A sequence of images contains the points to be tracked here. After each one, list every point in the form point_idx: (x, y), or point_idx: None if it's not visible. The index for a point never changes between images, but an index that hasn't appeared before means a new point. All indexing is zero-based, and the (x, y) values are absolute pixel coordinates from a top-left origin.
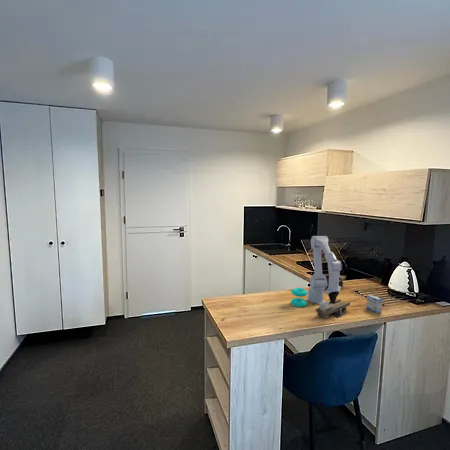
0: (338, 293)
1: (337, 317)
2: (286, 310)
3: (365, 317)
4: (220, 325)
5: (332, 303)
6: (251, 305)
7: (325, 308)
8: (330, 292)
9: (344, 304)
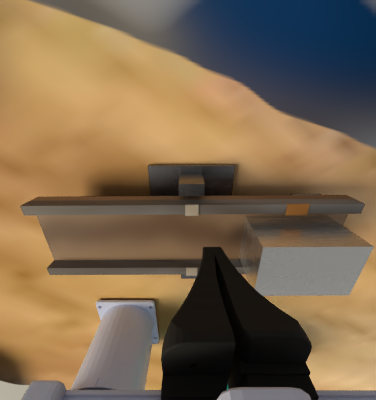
0: (197, 327)
1: (233, 166)
2: (323, 327)
3: (57, 36)
4: None
5: (265, 246)
6: (356, 387)
7: (350, 234)
8: (333, 396)
9: (101, 209)
